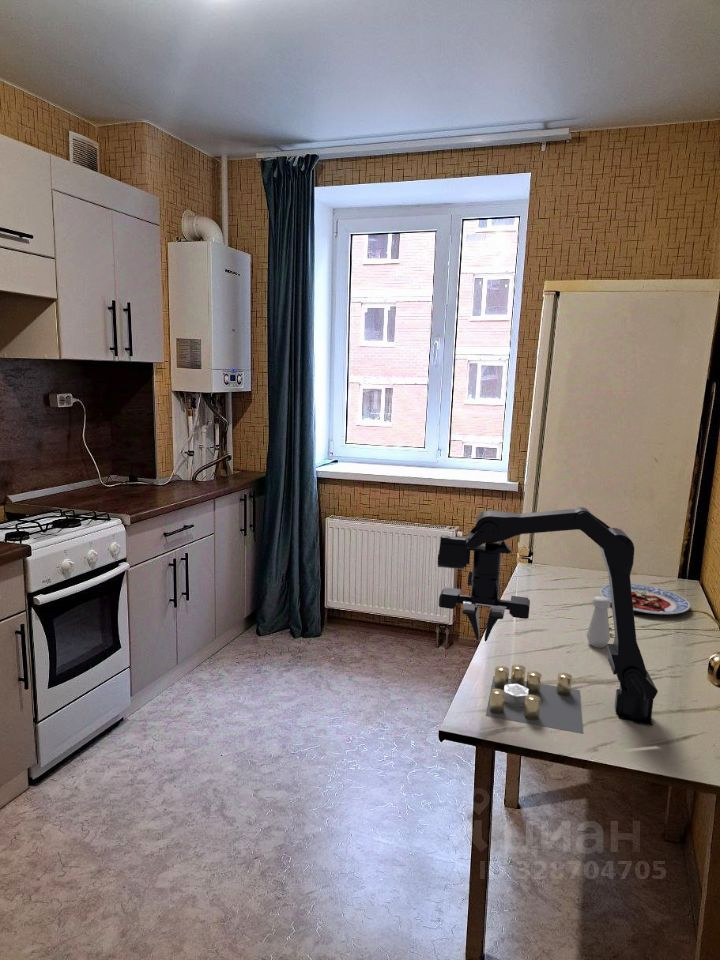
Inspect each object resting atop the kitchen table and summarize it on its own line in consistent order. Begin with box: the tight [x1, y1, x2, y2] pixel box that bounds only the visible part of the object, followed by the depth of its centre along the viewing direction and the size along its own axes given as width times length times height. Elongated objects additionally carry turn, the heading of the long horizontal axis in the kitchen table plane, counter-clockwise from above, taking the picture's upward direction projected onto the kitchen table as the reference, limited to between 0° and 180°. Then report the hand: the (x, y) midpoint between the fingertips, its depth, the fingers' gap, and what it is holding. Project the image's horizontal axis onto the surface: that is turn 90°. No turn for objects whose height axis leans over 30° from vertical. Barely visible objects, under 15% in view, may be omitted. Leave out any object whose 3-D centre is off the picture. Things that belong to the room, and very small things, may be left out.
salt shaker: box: [586, 595, 611, 649], centre depth 164 cm, size 6×6×13 cm
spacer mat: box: [485, 675, 584, 735], centre depth 134 cm, size 19×18×1 cm
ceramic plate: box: [599, 583, 691, 615], centre depth 196 cm, size 26×26×3 cm
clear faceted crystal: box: [504, 684, 528, 707], centre depth 135 cm, size 6×5×2 cm
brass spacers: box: [489, 664, 573, 720], centre depth 134 cm, size 16×16×4 cm
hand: (481, 640), depth 135 cm, fingers closed
